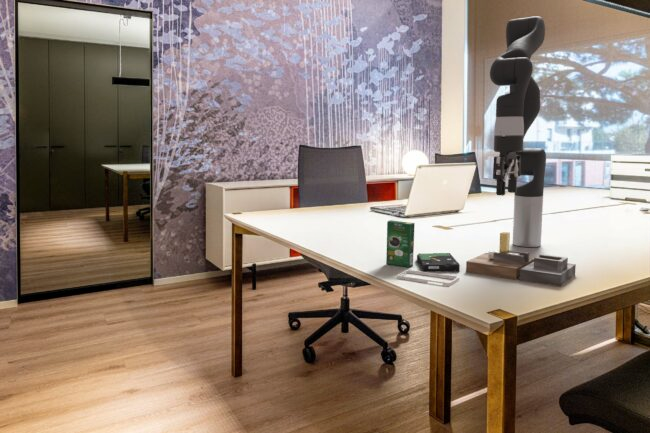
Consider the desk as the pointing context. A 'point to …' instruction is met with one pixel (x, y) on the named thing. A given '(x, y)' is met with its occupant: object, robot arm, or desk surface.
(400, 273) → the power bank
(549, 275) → the door and jamb
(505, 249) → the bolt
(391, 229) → the coffee box
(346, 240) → the desk surface
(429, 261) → the disk drive
